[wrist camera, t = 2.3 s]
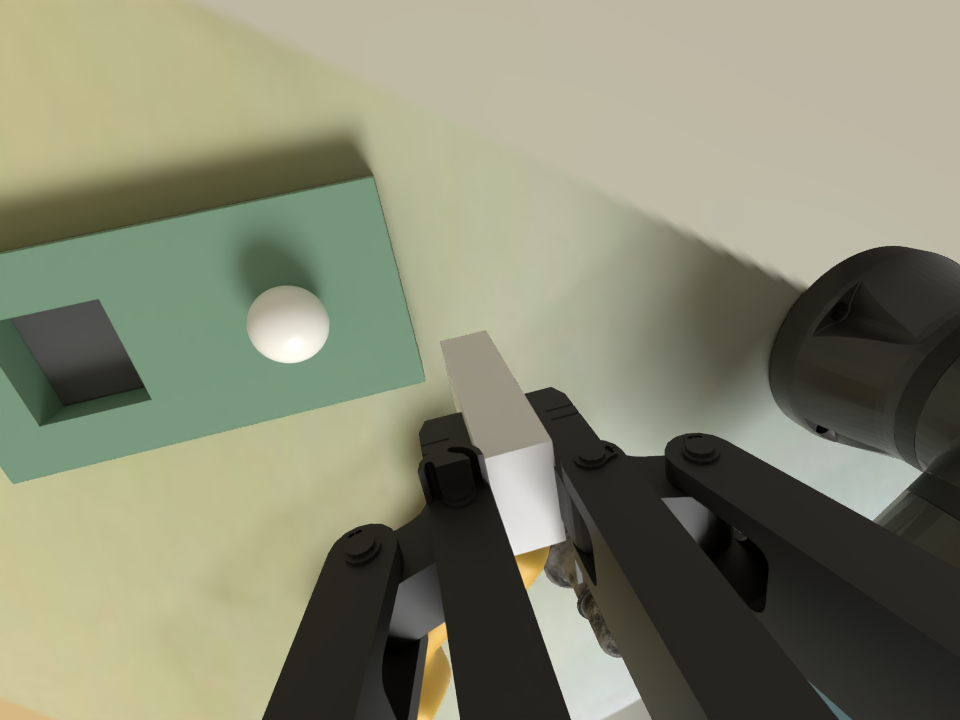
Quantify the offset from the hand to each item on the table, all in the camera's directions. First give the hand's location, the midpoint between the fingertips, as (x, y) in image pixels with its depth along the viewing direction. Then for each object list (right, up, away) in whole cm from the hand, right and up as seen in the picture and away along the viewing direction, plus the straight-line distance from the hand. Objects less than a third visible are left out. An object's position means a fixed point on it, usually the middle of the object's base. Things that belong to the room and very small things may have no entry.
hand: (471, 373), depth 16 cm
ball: (-10, +2, +10) cm, 14 cm away
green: (-16, +3, +13) cm, 21 cm away
